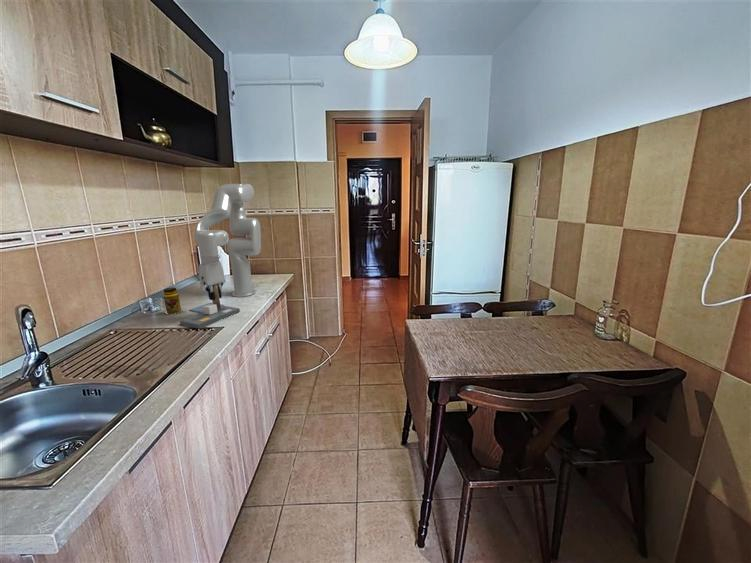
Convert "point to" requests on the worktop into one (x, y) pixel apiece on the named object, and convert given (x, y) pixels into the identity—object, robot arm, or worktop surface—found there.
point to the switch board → (209, 317)
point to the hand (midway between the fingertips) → (215, 298)
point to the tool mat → (200, 308)
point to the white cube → (210, 309)
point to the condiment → (172, 301)
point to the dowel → (216, 297)
